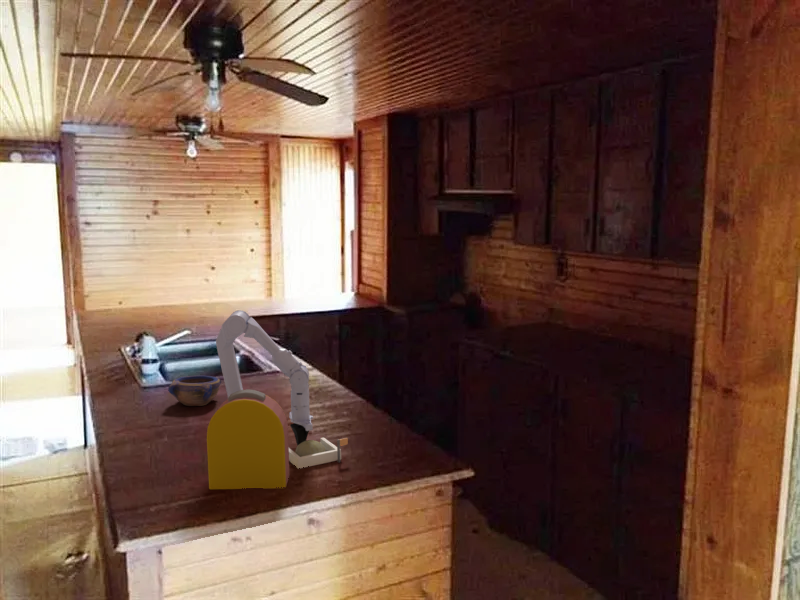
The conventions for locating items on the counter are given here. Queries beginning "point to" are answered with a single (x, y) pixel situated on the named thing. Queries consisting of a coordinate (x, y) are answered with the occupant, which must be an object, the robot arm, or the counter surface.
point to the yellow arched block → (248, 443)
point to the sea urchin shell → (309, 448)
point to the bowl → (195, 389)
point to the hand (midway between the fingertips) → (301, 445)
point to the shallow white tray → (319, 454)
